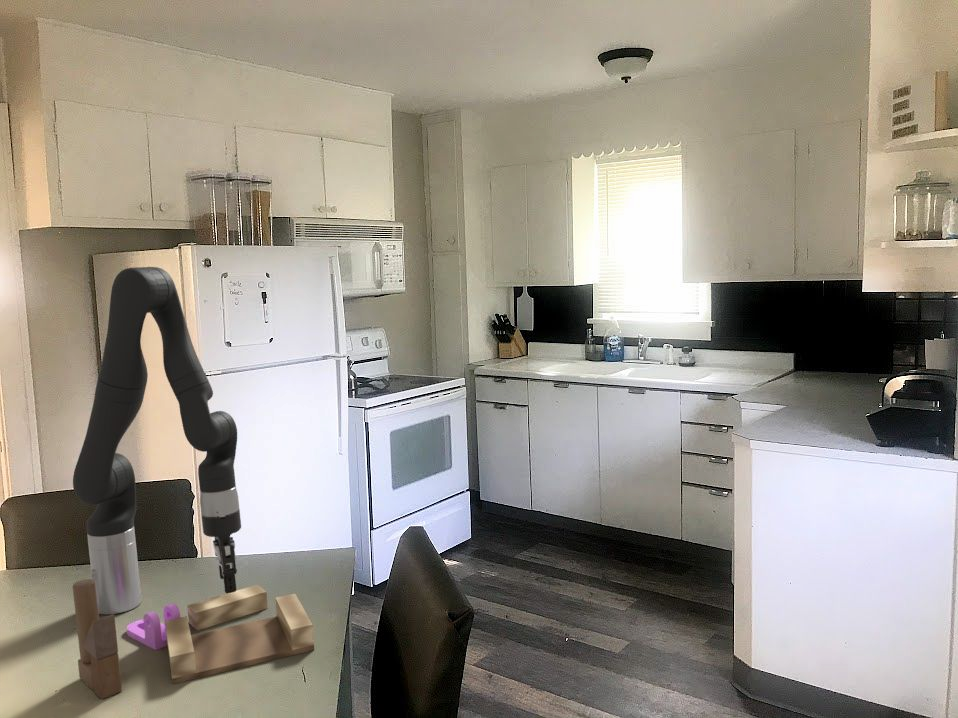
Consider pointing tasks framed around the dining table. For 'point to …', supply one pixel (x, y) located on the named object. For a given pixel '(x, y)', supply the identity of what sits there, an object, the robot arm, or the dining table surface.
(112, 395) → the robot arm
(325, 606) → the dining table surface
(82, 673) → the wooden block
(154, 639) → the bracket
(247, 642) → the brown wooden cradle
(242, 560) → the dining table surface
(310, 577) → the dining table surface
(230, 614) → the oak plank
